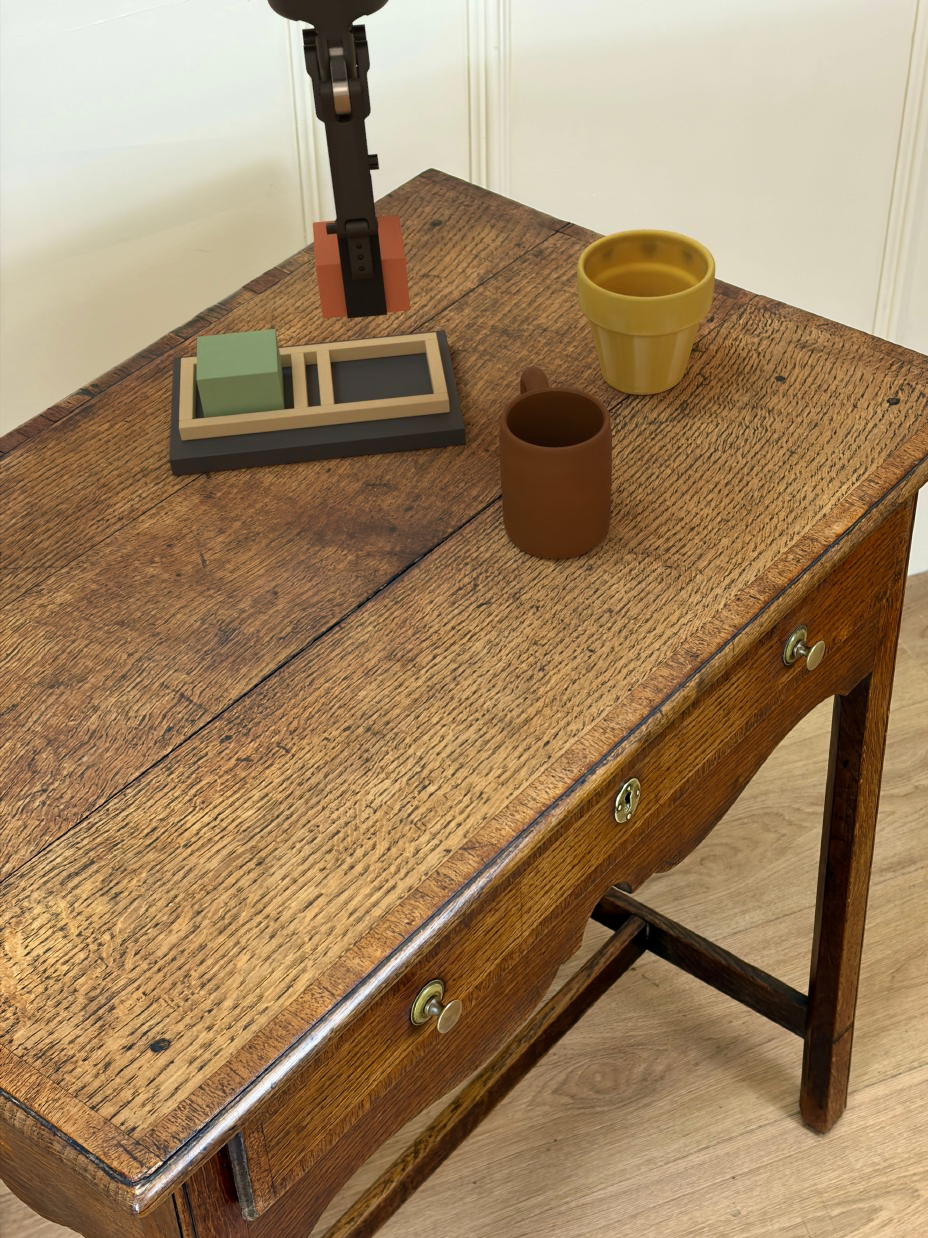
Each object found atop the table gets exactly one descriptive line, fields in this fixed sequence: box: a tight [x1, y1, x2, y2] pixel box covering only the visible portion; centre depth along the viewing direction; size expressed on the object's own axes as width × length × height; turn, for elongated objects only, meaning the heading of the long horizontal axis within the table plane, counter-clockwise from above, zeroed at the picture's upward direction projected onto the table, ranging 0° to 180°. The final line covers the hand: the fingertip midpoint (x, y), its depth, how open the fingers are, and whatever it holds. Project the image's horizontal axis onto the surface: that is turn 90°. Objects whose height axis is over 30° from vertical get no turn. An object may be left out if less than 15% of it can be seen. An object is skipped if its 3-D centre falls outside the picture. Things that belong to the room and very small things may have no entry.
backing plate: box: [168, 329, 467, 477], centre depth 115 cm, size 22×14×3 cm, turn 98°
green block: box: [196, 328, 285, 418], centre depth 113 cm, size 6×6×4 cm
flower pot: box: [576, 228, 716, 396], centre depth 115 cm, size 10×10×10 cm
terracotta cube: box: [312, 214, 411, 319], centre depth 102 cm, size 6×6×4 cm
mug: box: [498, 365, 613, 560], centre depth 103 cm, size 12×8×9 cm, turn 13°
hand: (364, 288), depth 103 cm, fingers closed on terracotta cube, 6 cm apart
